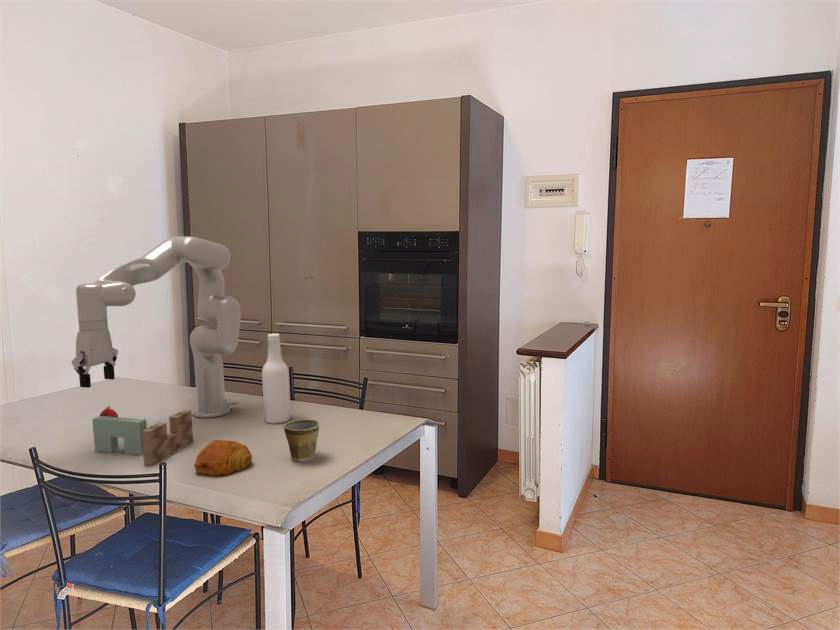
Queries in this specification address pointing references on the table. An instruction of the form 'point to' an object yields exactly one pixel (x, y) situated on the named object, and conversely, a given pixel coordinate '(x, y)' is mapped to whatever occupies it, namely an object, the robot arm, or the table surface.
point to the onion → (109, 412)
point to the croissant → (222, 457)
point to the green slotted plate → (118, 434)
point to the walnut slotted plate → (167, 437)
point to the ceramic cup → (302, 438)
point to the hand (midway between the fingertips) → (97, 383)
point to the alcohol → (275, 384)
